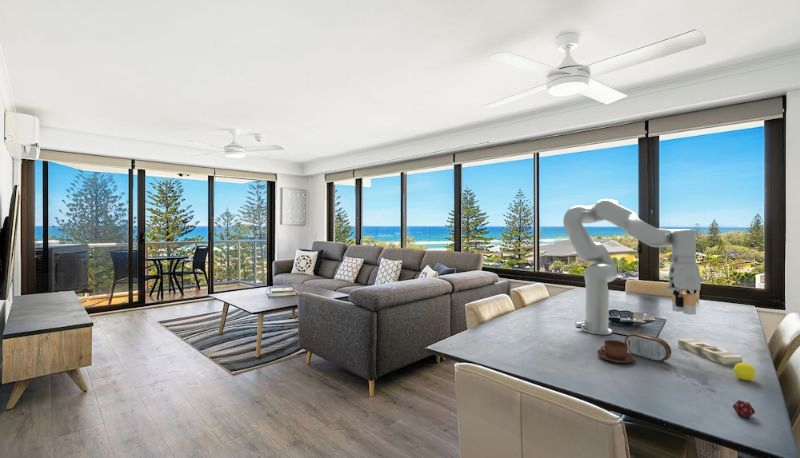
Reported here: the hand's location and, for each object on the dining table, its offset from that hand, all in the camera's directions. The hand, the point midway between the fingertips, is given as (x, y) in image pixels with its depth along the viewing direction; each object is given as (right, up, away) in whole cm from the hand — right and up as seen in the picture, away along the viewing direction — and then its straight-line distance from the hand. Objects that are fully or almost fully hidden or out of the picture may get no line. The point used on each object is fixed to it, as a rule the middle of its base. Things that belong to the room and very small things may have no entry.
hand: (683, 306), depth 148 cm
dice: (-22, -19, -50) cm, 58 cm away
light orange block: (0, -2, 0) cm, 2 cm away
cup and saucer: (-33, -18, -9) cm, 38 cm away
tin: (-20, -18, -7) cm, 28 cm away
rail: (+6, -18, -4) cm, 20 cm away
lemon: (0, -19, -26) cm, 32 cm away
